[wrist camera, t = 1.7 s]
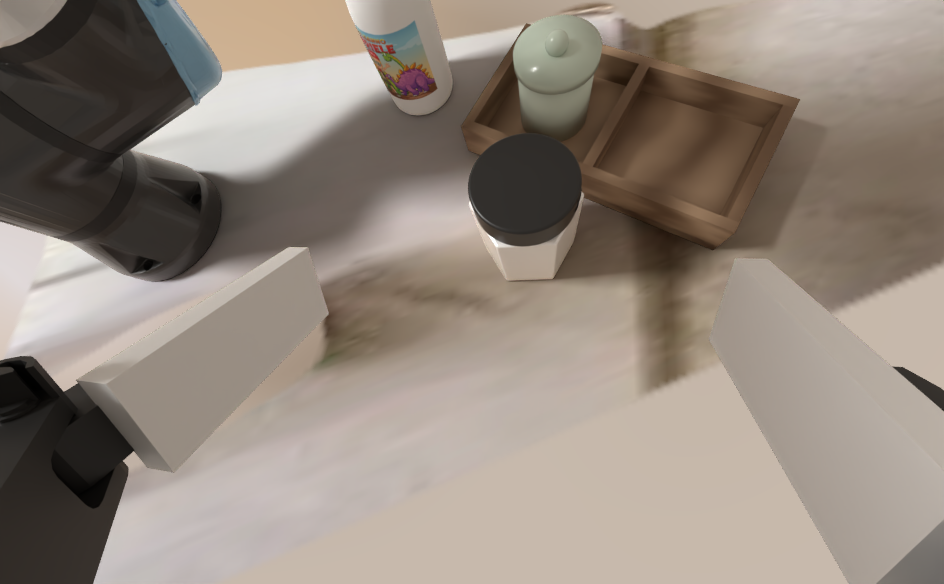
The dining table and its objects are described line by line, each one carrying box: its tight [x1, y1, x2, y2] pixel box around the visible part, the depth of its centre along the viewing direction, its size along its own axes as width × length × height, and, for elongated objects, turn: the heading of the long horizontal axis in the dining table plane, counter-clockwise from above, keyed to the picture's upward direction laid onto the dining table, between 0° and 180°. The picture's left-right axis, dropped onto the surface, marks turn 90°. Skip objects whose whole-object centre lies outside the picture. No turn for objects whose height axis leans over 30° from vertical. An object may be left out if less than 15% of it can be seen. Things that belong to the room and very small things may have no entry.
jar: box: [468, 133, 584, 281], centre depth 31 cm, size 9×8×12 cm
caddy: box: [461, 24, 800, 250], centre depth 36 cm, size 27×14×4 cm, turn 59°
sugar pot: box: [513, 15, 602, 142], centre depth 35 cm, size 8×8×10 cm
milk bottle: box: [345, 0, 453, 116], centre depth 35 cm, size 8×8×20 cm
